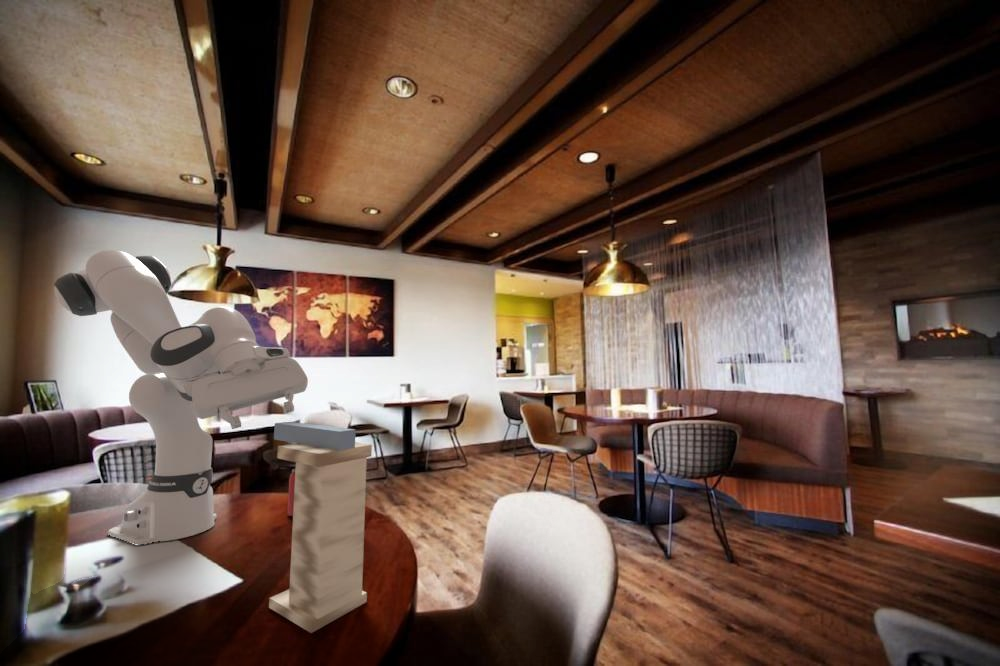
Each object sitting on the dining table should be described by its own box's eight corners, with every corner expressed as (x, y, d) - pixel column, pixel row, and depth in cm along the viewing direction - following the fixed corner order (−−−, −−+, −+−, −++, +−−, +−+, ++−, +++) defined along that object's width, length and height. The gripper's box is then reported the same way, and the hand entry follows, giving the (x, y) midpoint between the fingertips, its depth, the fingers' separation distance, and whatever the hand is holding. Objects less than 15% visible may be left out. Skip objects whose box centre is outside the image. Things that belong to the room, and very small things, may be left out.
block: (273, 439, 77) (274, 423, 77) (289, 437, 79) (290, 421, 80) (339, 450, 66) (339, 431, 66) (354, 447, 68) (355, 429, 69)
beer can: (303, 519, 108) (305, 472, 109) (281, 517, 109) (284, 471, 110) (319, 511, 114) (321, 467, 115) (298, 509, 115) (300, 466, 117)
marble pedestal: (268, 607, 67) (277, 446, 70) (324, 581, 75) (330, 438, 78) (311, 633, 60) (319, 453, 63) (366, 602, 69) (371, 444, 71)
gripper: (180, 369, 77) (199, 427, 71) (294, 346, 90) (318, 393, 84) (183, 389, 81) (201, 446, 75) (292, 365, 94) (315, 411, 88)
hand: (264, 418), depth 80 cm, fingers open, 8 cm apart
